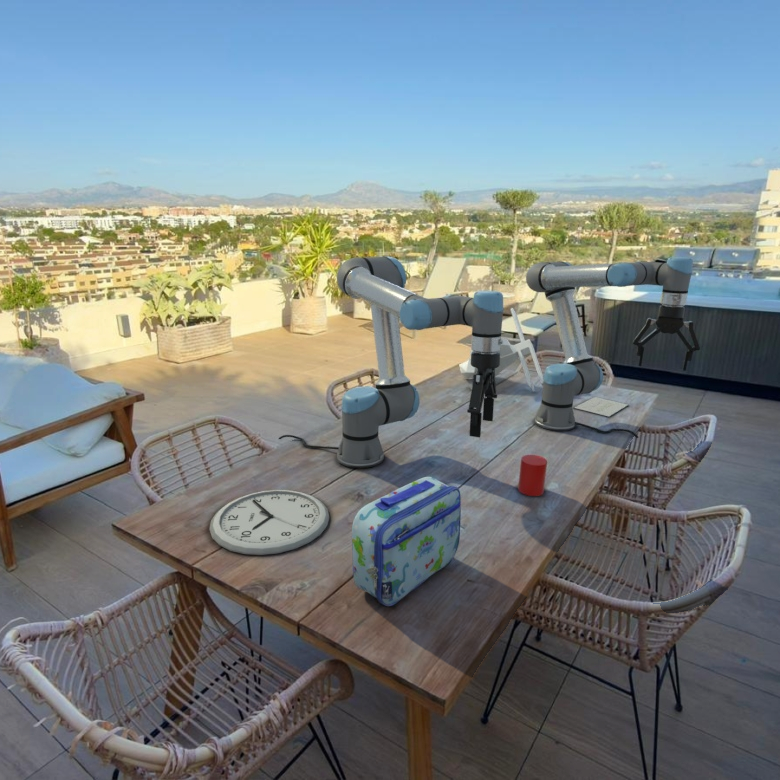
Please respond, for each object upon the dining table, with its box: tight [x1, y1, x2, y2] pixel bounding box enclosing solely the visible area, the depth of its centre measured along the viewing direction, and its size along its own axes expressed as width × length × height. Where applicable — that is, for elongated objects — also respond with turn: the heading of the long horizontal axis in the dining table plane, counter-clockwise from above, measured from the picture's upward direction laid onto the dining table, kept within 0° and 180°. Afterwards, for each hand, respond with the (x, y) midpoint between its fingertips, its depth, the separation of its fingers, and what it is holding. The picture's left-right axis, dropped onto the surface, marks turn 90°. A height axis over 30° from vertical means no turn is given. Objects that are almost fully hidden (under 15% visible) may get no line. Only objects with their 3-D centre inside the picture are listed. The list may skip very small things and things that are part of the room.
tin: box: [517, 454, 548, 497], centre depth 152 cm, size 7×7×10 cm
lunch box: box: [351, 476, 462, 607], centre depth 111 cm, size 26×11×21 cm, turn 135°
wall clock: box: [209, 489, 330, 556], centre depth 135 cm, size 30×2×30 cm
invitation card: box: [573, 396, 629, 418], centre depth 226 cm, size 21×1×15 cm
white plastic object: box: [458, 307, 544, 393], centre depth 256 cm, size 37×45×31 cm
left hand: (481, 428), depth 142 cm, fingers open, 13 cm apart
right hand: (661, 367), depth 179 cm, fingers open, 13 cm apart
